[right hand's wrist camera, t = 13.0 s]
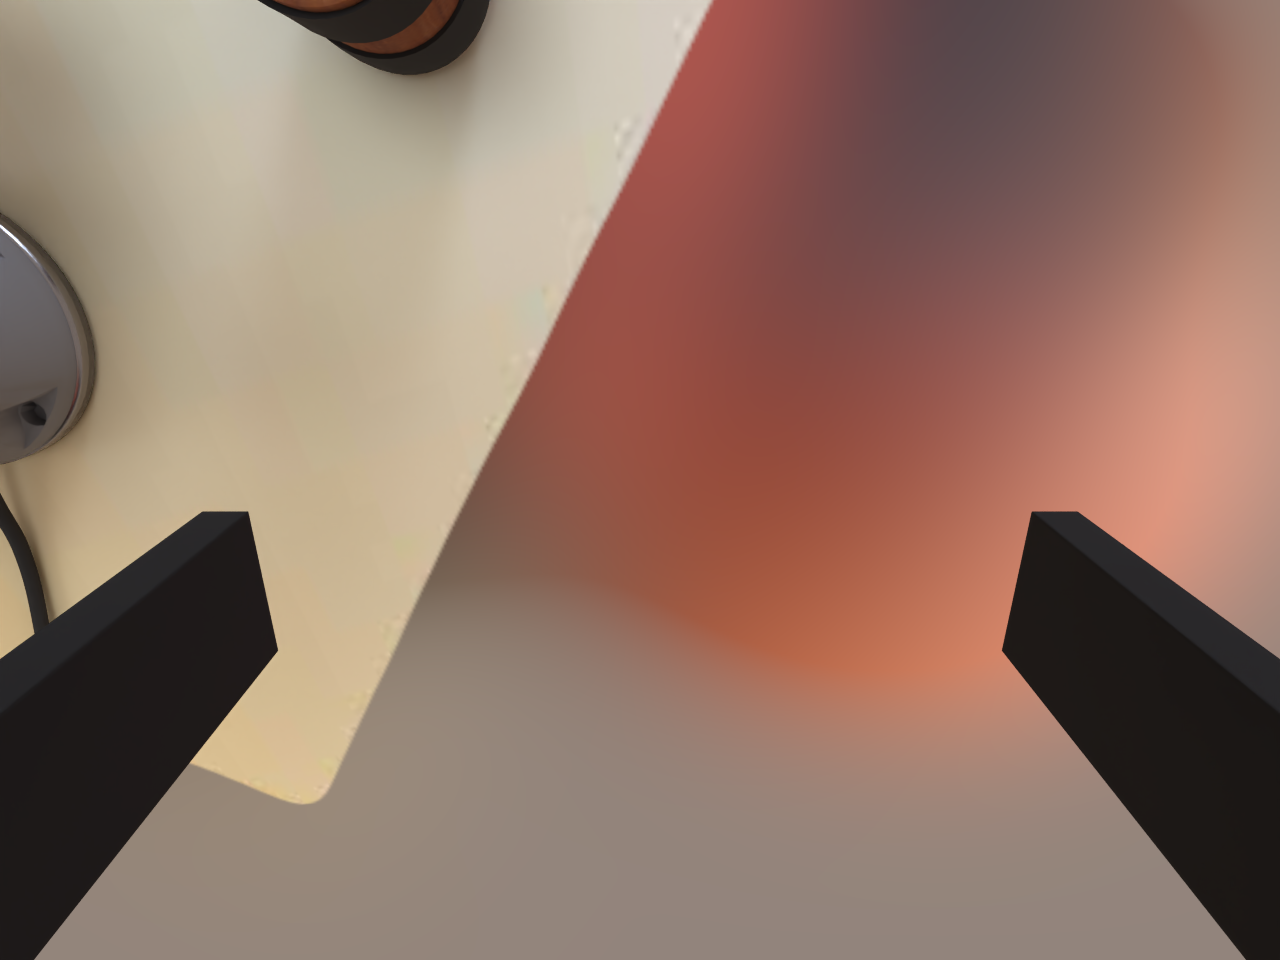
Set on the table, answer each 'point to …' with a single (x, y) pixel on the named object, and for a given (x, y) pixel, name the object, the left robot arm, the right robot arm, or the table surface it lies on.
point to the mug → (392, 29)
